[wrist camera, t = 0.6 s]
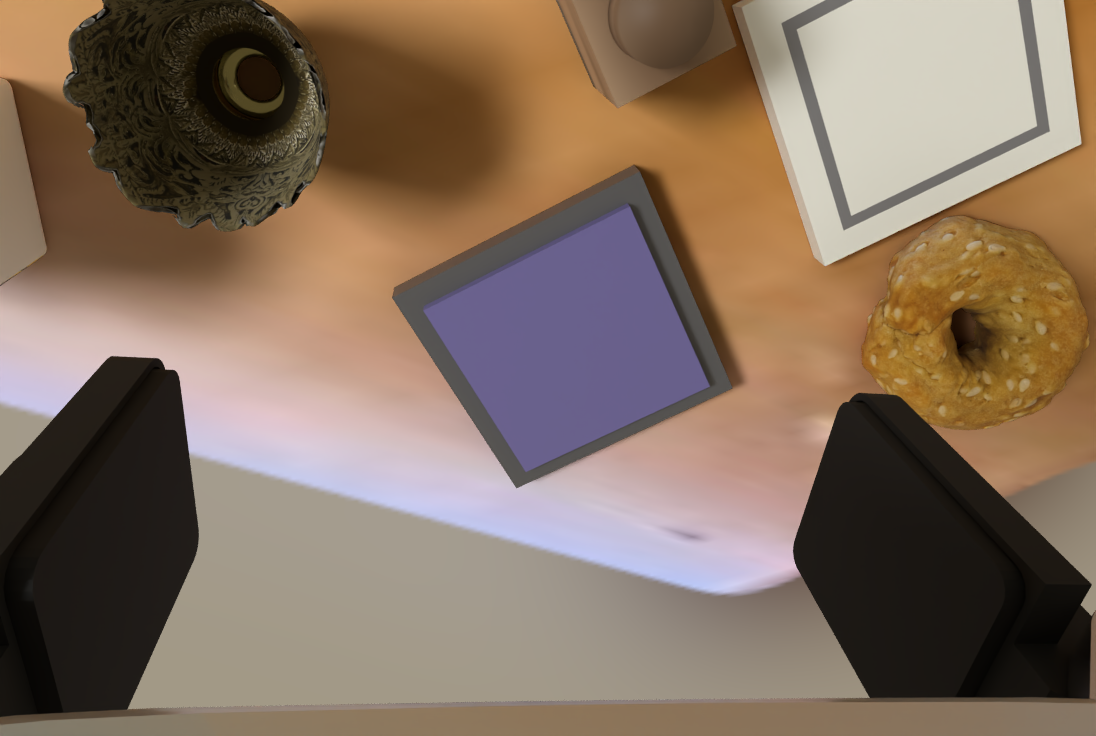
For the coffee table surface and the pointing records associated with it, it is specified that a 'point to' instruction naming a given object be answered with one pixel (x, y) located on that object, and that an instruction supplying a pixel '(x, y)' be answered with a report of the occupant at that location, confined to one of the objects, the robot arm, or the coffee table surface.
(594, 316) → the ink pad
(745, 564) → the coffee table surface
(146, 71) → the cup
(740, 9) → the board
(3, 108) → the medicine bottle
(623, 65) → the stamp
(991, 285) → the bagel
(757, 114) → the coffee table surface
